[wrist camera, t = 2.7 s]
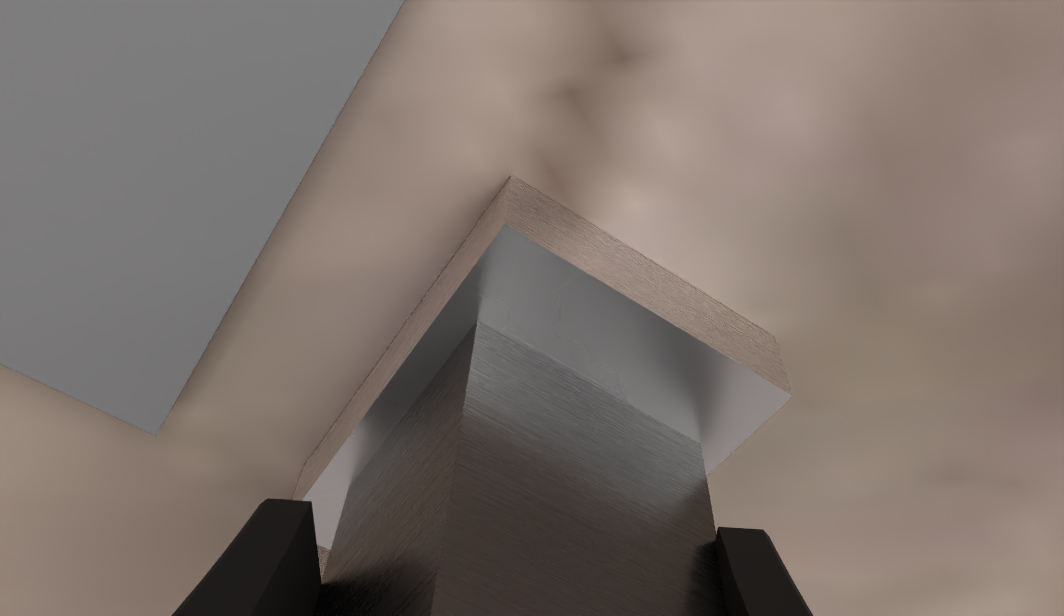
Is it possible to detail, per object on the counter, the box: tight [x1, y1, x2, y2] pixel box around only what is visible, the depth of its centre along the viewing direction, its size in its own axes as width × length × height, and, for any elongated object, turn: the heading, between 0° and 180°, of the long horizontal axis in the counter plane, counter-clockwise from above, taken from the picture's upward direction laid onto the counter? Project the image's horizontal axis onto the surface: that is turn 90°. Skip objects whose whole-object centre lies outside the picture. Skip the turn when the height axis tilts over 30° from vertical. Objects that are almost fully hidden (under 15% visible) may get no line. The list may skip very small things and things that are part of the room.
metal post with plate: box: [292, 175, 793, 616], centre depth 12 cm, size 5×7×8 cm
